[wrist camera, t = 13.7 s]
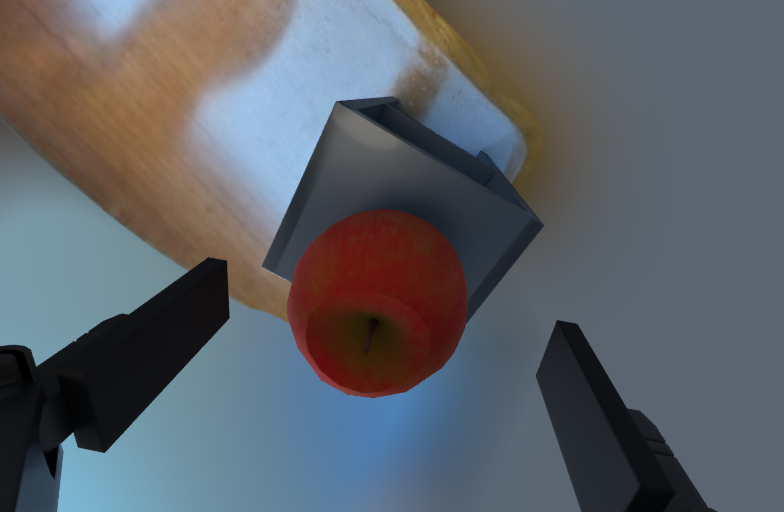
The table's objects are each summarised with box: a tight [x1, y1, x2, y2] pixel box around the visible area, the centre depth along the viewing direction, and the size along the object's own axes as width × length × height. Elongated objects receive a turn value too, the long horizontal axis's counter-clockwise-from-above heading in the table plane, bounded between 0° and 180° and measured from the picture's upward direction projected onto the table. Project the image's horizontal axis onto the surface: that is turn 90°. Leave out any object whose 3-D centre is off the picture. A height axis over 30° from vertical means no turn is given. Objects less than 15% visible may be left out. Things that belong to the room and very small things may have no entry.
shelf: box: [262, 97, 544, 323], centre depth 37 cm, size 12×14×28 cm
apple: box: [287, 209, 468, 398], centre depth 19 cm, size 9×8×11 cm
